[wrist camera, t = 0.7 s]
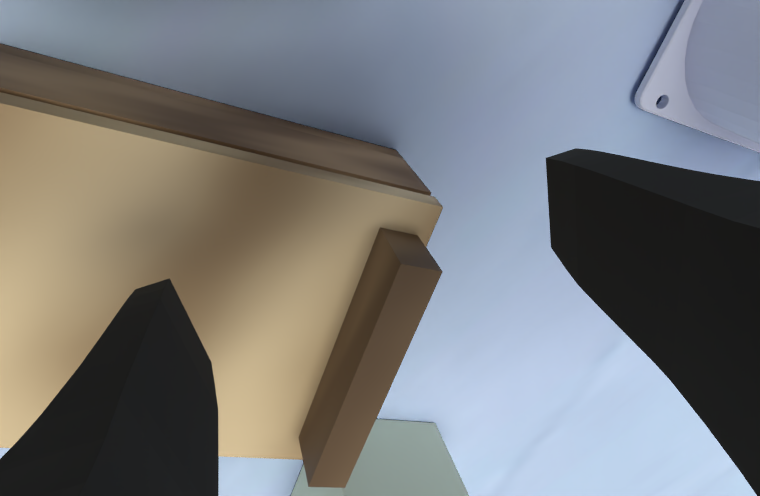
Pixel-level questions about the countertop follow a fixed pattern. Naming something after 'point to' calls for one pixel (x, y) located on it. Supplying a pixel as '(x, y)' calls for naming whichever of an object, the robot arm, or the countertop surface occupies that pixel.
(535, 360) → the countertop surface
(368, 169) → the walnut box
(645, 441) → the countertop surface
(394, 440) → the grey-green cube
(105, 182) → the lid
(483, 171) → the countertop surface
